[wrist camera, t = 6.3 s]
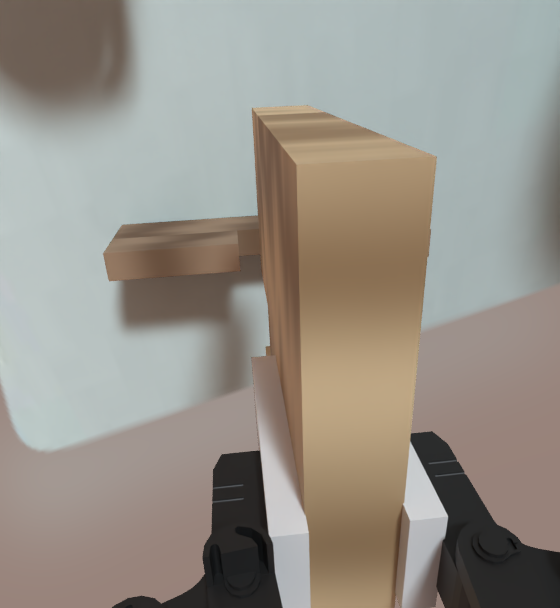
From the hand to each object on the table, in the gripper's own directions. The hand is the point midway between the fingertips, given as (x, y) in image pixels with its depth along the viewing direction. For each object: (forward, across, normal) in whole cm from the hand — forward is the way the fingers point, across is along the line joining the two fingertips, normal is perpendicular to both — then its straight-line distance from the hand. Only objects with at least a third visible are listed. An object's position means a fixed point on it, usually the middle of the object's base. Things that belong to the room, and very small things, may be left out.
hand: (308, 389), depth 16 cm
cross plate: (+6, 0, 0) cm, 6 cm away
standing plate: (+18, 0, 0) cm, 18 cm away
